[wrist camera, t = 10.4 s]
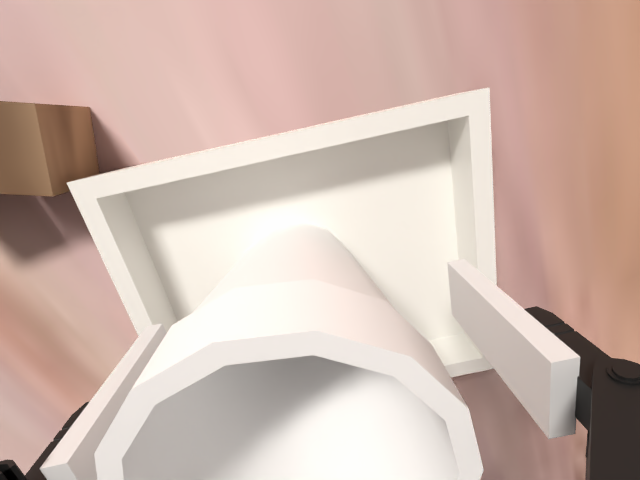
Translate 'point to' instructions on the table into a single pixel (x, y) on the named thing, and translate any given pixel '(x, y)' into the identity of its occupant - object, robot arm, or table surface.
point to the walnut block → (44, 148)
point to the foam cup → (293, 381)
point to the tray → (312, 212)
